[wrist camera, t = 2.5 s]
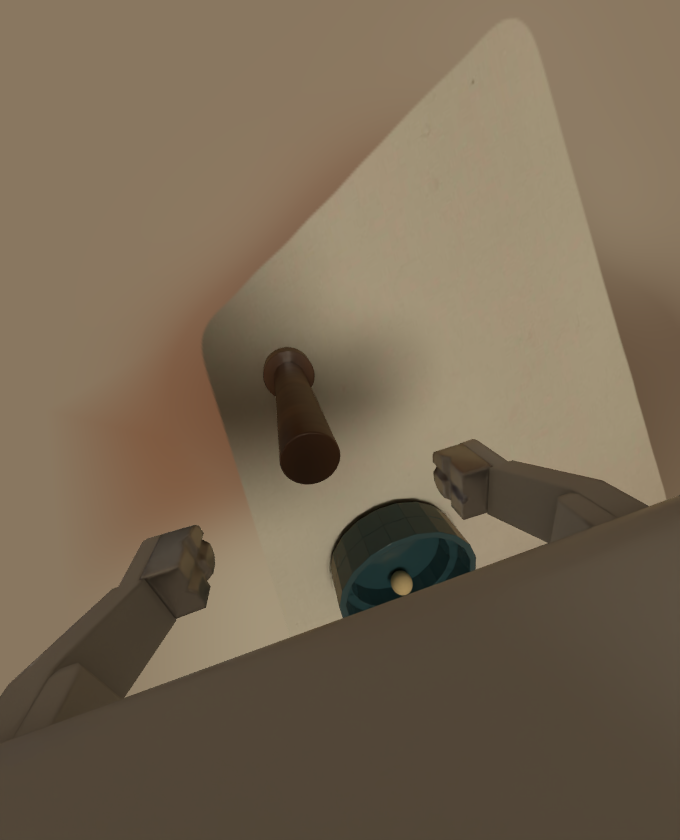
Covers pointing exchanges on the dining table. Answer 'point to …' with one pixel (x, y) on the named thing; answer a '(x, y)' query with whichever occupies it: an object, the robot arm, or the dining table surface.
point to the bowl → (397, 554)
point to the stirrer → (300, 419)
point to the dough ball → (401, 583)
